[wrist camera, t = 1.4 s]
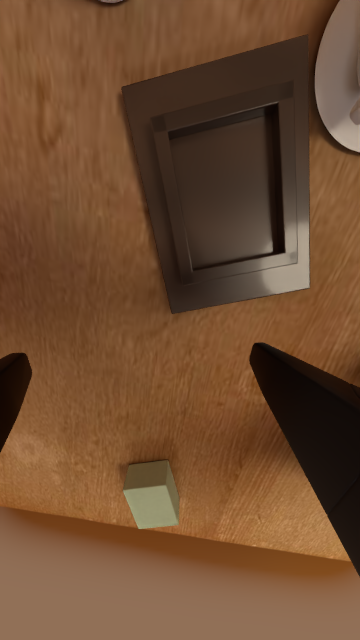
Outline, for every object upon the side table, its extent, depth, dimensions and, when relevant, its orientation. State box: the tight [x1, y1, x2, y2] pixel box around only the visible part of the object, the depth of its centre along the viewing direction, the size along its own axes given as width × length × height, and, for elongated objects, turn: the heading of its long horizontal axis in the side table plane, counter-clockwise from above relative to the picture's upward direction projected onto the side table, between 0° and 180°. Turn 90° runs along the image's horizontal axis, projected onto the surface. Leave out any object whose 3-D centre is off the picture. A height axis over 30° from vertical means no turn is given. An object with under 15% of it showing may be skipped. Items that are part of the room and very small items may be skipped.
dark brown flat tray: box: [122, 34, 310, 314], centre depth 16 cm, size 16×12×2 cm
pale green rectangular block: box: [123, 460, 179, 529], centre depth 26 cm, size 7×5×3 cm
